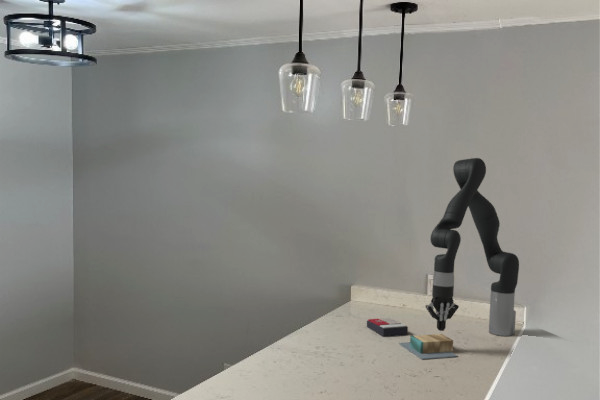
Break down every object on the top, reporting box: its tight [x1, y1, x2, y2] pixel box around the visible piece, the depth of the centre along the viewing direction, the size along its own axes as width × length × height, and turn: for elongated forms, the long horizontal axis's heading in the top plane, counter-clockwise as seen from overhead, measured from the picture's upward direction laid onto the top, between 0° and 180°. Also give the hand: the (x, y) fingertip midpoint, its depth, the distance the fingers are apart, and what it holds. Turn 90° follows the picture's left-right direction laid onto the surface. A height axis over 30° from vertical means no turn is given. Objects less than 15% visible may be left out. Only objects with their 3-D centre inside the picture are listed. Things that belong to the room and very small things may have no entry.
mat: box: [398, 341, 458, 360], centre depth 218 cm, size 14×18×1 cm
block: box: [409, 333, 454, 354], centre depth 218 cm, size 4×8×13 cm
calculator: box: [366, 317, 409, 338], centre depth 242 cm, size 11×4×15 cm
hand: (440, 330), depth 219 cm, fingers closed
